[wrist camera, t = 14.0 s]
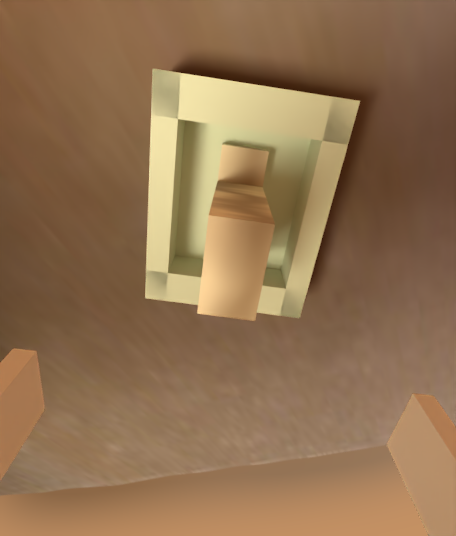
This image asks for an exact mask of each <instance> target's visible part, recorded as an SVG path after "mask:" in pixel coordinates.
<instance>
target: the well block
mask: <svg viewBox="0 0 456 536" xmlns="http://www.w3.org/2000/svg"><path fill="white" fill-rule="evenodd" d="M359 103H360V101H357V100H351V99H344V98H338V97H331V96H325V95H319V94H312V93H306V92H300V91H293V90H287V89H280V88H274V87H268V86H261V85H255V84H248V83H242V82H236V81H229V80H223V79H216V78H210V77H204V76H197V75H191V74H184V73H178V72H172V71H165V70H159V69H153V74H152V105H151V135H150V165H149V195H148V225H147V256H146V286H145V298H148V299H155V300H163V301H171V302H179V303H186V304H194V305H198V302H199V294H200V285H201V276H202V268H203V259H204V250H205V242H206V233H207V224H208V216H209V212H210V208H211V204H212V200H213V196H214V193H215V189H216V185H217V181H218V174H219V166H220V158H221V149H222V144H223V143H227V144H234V145H240V146H247V147H254V148H260V149H267V150H268V151H269V155H268V160H267V166H266V171H265V177H264V182H263V190H264V193H265V196H266V199H267V202H268V205H269V208H270V211H271V214H272V217H273V220H274V223H275V227H274V232H273V237H272V242H271V246H270V251H269V256H268V261H267V266H266V270H265V275H264V280H263V285H262V290H261V294H260V299H259V304H258V309H257V313H264V314H271V315H279V316H287V317H294V318H300V315H301V311H302V308H303V304H304V301H305V297H306V294H307V290H308V286H309V283H310V279H311V276H312V272H313V268H314V265H315V261H316V258H317V254H318V251H319V247H320V243H321V240H322V236H323V233H324V229H325V225H326V222H327V218H328V215H329V211H330V207H331V204H332V200H333V197H334V193H335V190H336V186H337V182H338V179H339V175H340V172H341V168H342V164H343V161H344V157H345V154H346V150H347V146H348V143H349V139H350V136H351V132H352V129H353V125H354V121H355V118H356V114H357V111H358V107H359Z"/></svg>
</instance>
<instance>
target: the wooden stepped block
mask: <svg viewBox="0 0 456 536" xmlns="http://www.w3.org/2000/svg"><path fill="white" fill-rule="evenodd" d="M268 155H269V151H268V150H267V149H260V148H254V147H247V146H240V145H234V144H227V143H223V144H222V149H221V158H220V166H219V174H218V181H217V185H216V189H215V193H214V196H213V200H212V204H211V208H210V212H209V216H208V224H207V233H206V242H205V250H204V259H203V268H202V276H201V285H200V294H199V302H198V311H197V314H205V315H213V316H221V317H228V318H236V319H244V320H252V321H255V318H256V313H257V309H258V304H259V299H260V294H261V290H262V285H263V280H264V275H265V270H266V266H267V261H268V256H269V251H270V246H271V242H272V237H273V232H274V227H275V223H274V220H273V217H272V214H271V211H270V208H269V205H268V202H267V199H266V196H265V193H264V190H263V182H264V177H265V171H266V166H267V160H268Z"/></svg>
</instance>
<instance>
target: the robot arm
mask: <svg viewBox="0 0 456 536" xmlns="http://www.w3.org/2000/svg"><path fill="white" fill-rule="evenodd" d="M44 410H45V406H44V399H43V392H42V385H41V378H40V371H39V364H38V357H37V351H33V350H24V349H15V348H13V349H12V350H11V351H10V353H9V354H8V355H7V356H6V357H5V358H4V359H3V360H2V361H1V362H0V481H1V479H2V478H3V476H4V474H5V473H6V471H7V469H8V468H9V466H10V465H11V463H12V461H13V460H14V458H15V457H16V455H17V453H18V452H19V450H20V449H21V447H22V445H23V444H24V442H25V441H26V439H27V437H28V436H29V434H30V432H31V431H32V429H33V428H34V426H35V424H36V423H37V421H38V420H39V418H40V416H41V415H42V413H43V412H44ZM387 447H388V449H389V451H390V454H391V456H392V458H393V460H394V462H395V464H396V467H397V469H398V471H399V473H400V475H401V477H402V479H403V482H404V484H405V486H406V488H407V490H408V493H409V495H410V497H411V499H412V501H413V503H414V506H415V507H416V510H417V512H418V514H419V516H420V519H421V521H422V523H423V525H424V527H425V529H426V532H427V534H428V536H456V427H455V425H454V424H453V422H452V421H451V420H450V418H449V417H448V415H447V414H446V413H445V411H444V410H443V408H442V407H441V405H440V404H439V403H438V401H437V400H436V398H435V397H434V396H432V395H423V394H415V393H413V394H412V396H411V398H410V400H409V402H408V404H407V406H406V408H405V410H404V412H403V414H402V415H401V417H400V419H399V421H398V423H397V425H396V427H395V429H394V431H393V433H392V435H391V437H390V439H389V441H388V443H387Z"/></svg>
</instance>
